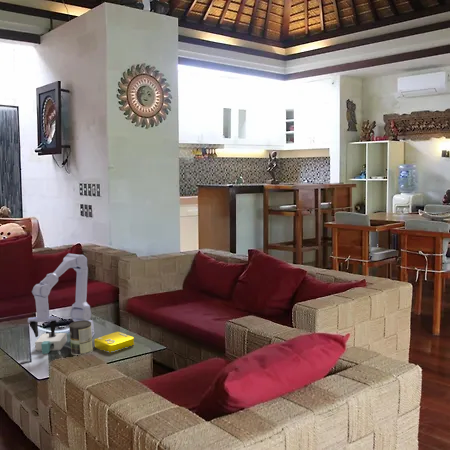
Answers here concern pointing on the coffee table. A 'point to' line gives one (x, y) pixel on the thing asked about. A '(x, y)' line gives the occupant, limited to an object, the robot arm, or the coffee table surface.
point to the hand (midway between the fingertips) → (44, 336)
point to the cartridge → (46, 347)
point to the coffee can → (80, 337)
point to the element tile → (113, 341)
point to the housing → (52, 341)
